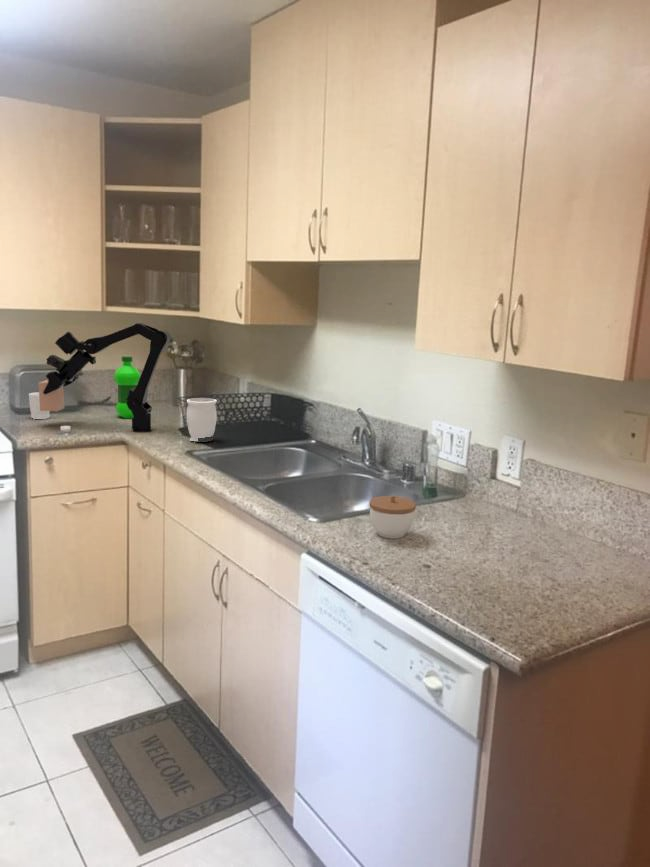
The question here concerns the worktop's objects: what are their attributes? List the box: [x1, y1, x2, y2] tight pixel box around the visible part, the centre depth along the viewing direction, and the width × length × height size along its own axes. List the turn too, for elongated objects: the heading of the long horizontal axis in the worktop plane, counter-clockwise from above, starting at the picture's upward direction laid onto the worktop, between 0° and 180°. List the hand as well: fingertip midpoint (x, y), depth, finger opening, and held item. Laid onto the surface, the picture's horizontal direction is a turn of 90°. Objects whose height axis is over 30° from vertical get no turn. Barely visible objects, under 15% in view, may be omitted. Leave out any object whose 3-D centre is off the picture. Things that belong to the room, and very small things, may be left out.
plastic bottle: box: [113, 355, 141, 419], centre depth 288 cm, size 10×10×25 cm
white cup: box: [28, 391, 50, 420], centre depth 281 cm, size 8×8×10 cm
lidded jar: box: [369, 494, 417, 540], centre depth 163 cm, size 11×11×9 cm
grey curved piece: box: [53, 429, 78, 436], centre depth 255 cm, size 8×8×1 cm
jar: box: [186, 397, 218, 442], centre depth 251 cm, size 11×10×15 cm
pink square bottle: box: [38, 377, 65, 412], centre depth 263 cm, size 6×7×13 cm
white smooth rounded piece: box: [59, 425, 72, 433], centre depth 255 cm, size 3×3×2 cm
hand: (47, 392), depth 263 cm, fingers closed on pink square bottle, 7 cm apart
